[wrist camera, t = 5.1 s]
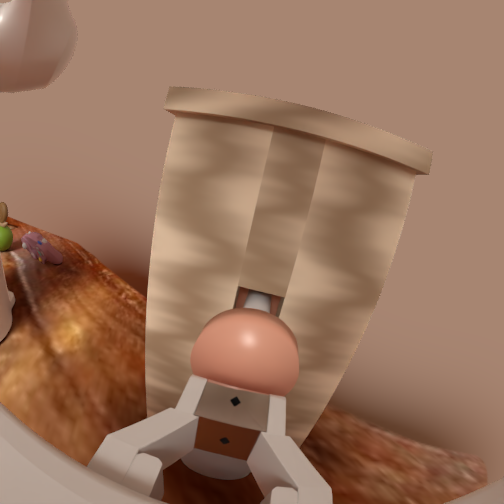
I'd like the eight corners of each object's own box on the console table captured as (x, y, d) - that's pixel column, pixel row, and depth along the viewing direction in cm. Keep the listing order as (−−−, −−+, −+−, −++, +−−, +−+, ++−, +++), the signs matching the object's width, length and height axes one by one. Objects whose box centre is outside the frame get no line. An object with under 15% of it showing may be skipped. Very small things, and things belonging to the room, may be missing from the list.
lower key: (176, 468, 12) (177, 435, 11) (208, 383, 21) (215, 343, 20) (245, 485, 12) (263, 456, 11) (259, 395, 21) (272, 357, 19)
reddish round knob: (181, 392, 10) (192, 303, 9) (224, 302, 19) (236, 242, 17) (284, 417, 10) (322, 335, 8) (285, 317, 18) (303, 258, 17)
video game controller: (27, 261, 41) (14, 235, 37) (40, 247, 45) (29, 221, 40) (52, 276, 40) (38, 248, 35) (66, 260, 43) (54, 232, 39)
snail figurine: (4, 243, 41) (4, 190, 38) (17, 250, 41) (17, 194, 38) (-12, 249, 36) (-14, 193, 33) (-1, 256, 36) (-2, 197, 32)
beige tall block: (141, 436, 18) (169, 86, 11) (165, 391, 24) (205, 114, 17) (289, 473, 17) (432, 151, 10) (290, 422, 23) (386, 159, 16)
